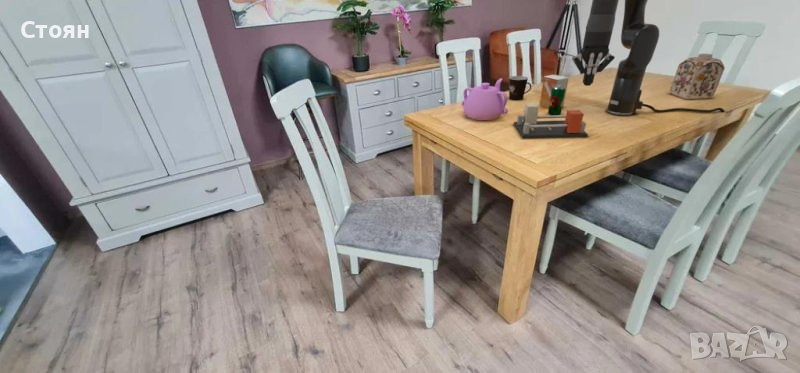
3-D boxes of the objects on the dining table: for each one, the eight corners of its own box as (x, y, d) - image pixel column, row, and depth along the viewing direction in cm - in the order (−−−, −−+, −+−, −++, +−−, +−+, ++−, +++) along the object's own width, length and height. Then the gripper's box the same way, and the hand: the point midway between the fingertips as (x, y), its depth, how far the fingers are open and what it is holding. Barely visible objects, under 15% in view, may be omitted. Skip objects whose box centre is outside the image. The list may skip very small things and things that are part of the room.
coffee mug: (504, 97, 167) (506, 76, 162) (521, 95, 167) (523, 75, 163) (513, 103, 157) (515, 81, 152) (530, 102, 157) (533, 80, 152)
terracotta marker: (574, 128, 121) (578, 109, 117) (579, 132, 117) (583, 113, 114) (563, 128, 121) (567, 110, 118) (567, 133, 117) (571, 114, 114)
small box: (539, 105, 152) (543, 76, 146) (549, 103, 154) (554, 74, 148) (552, 110, 146) (557, 79, 139) (563, 107, 148) (569, 77, 141)
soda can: (561, 116, 138) (567, 86, 132) (548, 116, 139) (553, 86, 133) (559, 112, 142) (564, 83, 136) (546, 112, 143) (551, 83, 137)
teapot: (521, 112, 145) (525, 79, 138) (496, 126, 132) (499, 91, 125) (477, 104, 158) (479, 74, 152) (450, 116, 145) (451, 84, 138)
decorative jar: (713, 98, 147) (731, 55, 138) (686, 100, 147) (702, 57, 138) (693, 92, 157) (708, 51, 148) (667, 93, 158) (681, 52, 149)
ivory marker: (533, 120, 131) (535, 103, 127) (536, 124, 127) (539, 106, 123) (522, 120, 131) (525, 103, 128) (525, 124, 127) (527, 106, 124)
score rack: (571, 123, 130) (573, 111, 128) (587, 137, 117) (590, 124, 115) (513, 124, 132) (515, 113, 130) (522, 138, 119) (524, 126, 117)
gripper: (581, 31, 103) (570, 88, 112) (627, 29, 101) (612, 87, 110) (573, 29, 109) (563, 83, 118) (616, 27, 108) (603, 81, 116)
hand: (587, 85), depth 114 cm, fingers closed
